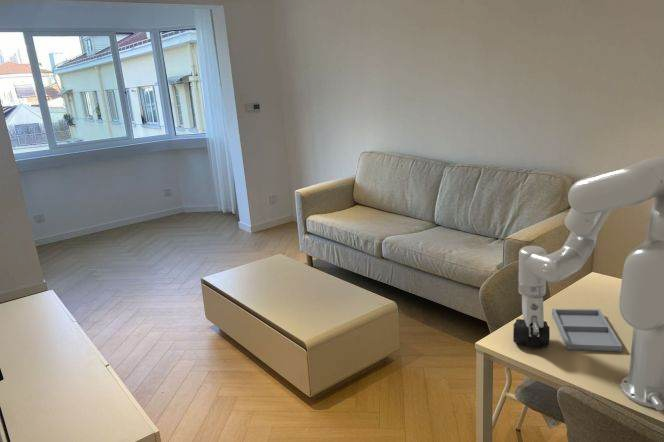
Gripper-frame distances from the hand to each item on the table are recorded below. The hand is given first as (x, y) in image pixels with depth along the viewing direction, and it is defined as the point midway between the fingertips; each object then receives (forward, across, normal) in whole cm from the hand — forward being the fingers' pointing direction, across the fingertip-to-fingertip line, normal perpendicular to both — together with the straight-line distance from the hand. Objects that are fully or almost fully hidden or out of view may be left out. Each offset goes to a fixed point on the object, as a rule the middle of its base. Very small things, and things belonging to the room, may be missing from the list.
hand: (530, 339), depth 151 cm
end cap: (+2, 0, 0) cm, 2 cm away
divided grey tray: (+1, +8, -17) cm, 19 cm away
